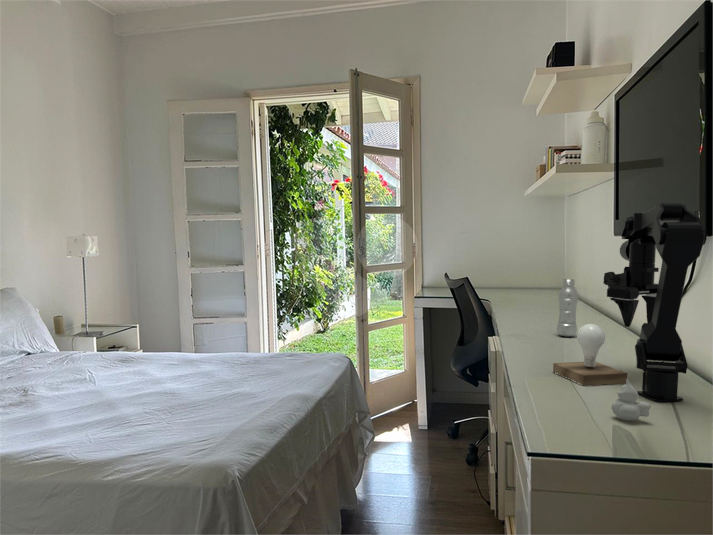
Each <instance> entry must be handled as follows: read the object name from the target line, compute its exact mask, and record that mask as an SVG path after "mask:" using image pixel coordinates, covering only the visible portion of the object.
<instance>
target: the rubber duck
mask: <svg viewBox="0 0 713 535" xmlns="http://www.w3.org/2000/svg"><path fill="white" fill-rule="evenodd" d="M637 391H638V390H636V388H635V387H634V386H633V385H632V384H631V382H629V380H628V378H627V379H626V383H625V384H623V385H622V386H621V387H620V390H618V391H616V394H617V396H618V398H617V399H616V400H615V401H613V402H612V403H611V410H612V413H613V414H614V415H615V416H616V417H617V418H618V419H620V420H622V421H627V422H633V421H636V420H638V419H639V418H640V417H643V418H644V417H649V416H650V413H649V410H650V409H651V403H649V402H647V401H639V402H638V401H637V400H638V399H639V398H640V396H639V394H638V393H637Z"/></svg>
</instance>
